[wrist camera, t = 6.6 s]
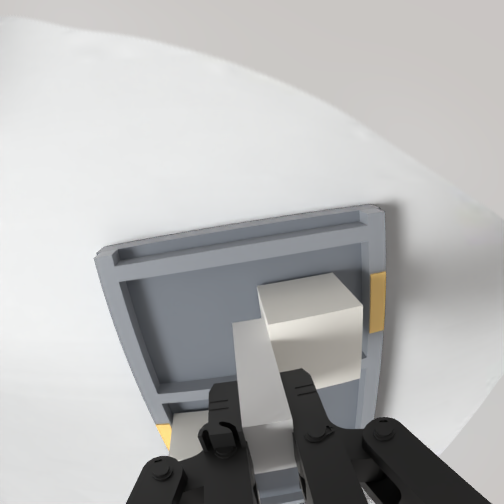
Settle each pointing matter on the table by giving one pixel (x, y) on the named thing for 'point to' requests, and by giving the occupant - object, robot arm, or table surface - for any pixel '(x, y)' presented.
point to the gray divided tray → (240, 309)
